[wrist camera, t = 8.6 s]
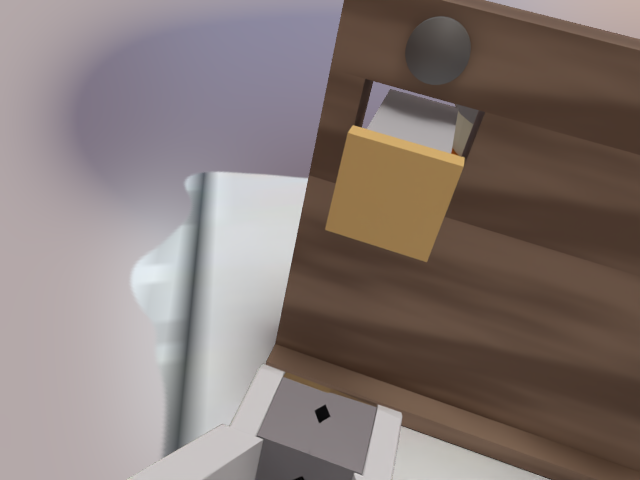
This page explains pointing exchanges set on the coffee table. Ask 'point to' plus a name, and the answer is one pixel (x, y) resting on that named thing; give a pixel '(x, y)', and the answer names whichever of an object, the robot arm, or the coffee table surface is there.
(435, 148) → the yellow and grey block
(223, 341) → the coffee table surface
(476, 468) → the coffee table surface
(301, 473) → the robot arm
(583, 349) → the panel
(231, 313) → the coffee table surface
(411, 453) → the coffee table surface
